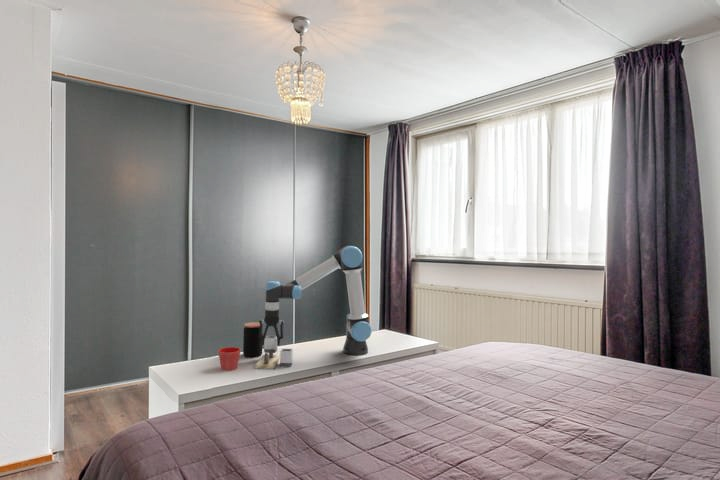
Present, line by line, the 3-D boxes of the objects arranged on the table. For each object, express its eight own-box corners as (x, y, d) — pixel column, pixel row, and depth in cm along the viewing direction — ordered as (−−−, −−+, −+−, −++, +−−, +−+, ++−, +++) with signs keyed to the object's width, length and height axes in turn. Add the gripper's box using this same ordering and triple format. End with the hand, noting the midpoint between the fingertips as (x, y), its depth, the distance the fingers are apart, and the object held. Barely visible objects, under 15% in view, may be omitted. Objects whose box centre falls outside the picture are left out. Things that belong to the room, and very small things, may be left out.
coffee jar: (266, 354, 246) (266, 323, 246) (254, 359, 236) (254, 326, 236) (251, 352, 251) (252, 321, 251) (239, 356, 241) (239, 324, 241)
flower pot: (228, 373, 211) (228, 353, 211) (213, 369, 217) (214, 350, 217) (244, 368, 220) (245, 349, 220) (230, 364, 226) (230, 345, 226)
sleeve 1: (275, 353, 233) (275, 338, 233) (264, 352, 233) (264, 338, 233) (277, 350, 239) (277, 336, 239) (266, 349, 238) (267, 335, 238)
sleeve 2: (292, 363, 230) (292, 348, 230) (291, 366, 224) (291, 351, 224) (281, 363, 230) (281, 348, 230) (279, 366, 224) (280, 351, 224)
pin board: (281, 358, 240) (281, 345, 240) (274, 368, 220) (274, 355, 220) (263, 357, 240) (263, 345, 240) (254, 368, 220) (255, 354, 220)
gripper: (290, 308, 239) (288, 349, 239) (256, 307, 239) (255, 348, 239) (288, 311, 232) (286, 353, 232) (253, 309, 232) (252, 352, 232)
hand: (270, 351), depth 236 cm, fingers closed on sleeve 1, 6 cm apart
